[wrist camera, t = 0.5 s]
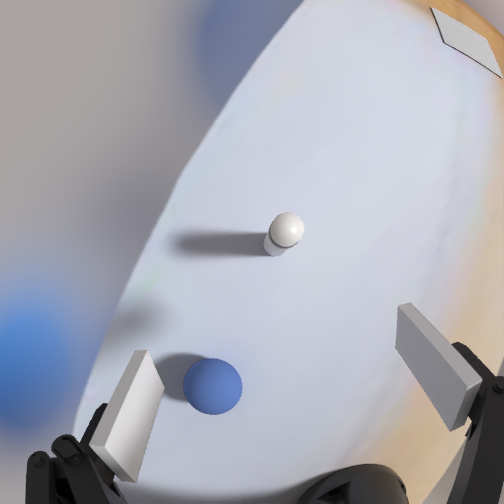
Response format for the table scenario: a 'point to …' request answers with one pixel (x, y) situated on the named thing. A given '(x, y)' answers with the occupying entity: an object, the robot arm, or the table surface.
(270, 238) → the pin
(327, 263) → the table surface
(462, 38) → the paper stack
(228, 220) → the table surface
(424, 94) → the table surface
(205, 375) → the ball
